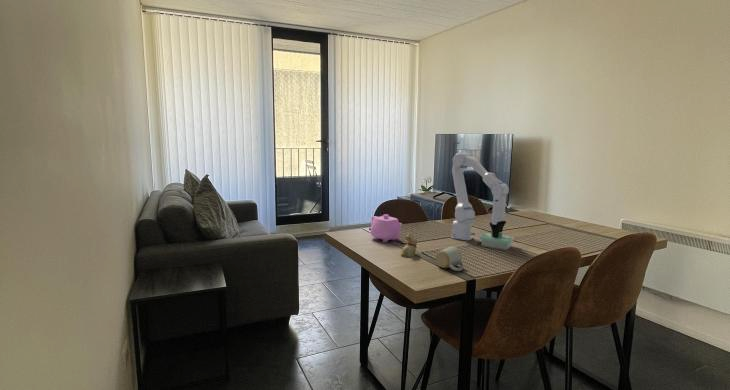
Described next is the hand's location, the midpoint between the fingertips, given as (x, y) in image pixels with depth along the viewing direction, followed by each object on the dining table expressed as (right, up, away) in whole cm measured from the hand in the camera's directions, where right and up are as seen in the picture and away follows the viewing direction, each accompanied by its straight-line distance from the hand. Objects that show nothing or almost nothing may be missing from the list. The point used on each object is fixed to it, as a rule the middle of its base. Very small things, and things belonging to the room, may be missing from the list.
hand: (496, 236), depth 189 cm
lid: (0, -2, 0) cm, 2 cm away
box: (0, -5, +1) cm, 5 cm away
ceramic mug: (-29, -9, -32) cm, 44 cm away
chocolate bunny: (-44, -6, -16) cm, 47 cm away
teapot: (-53, -3, +9) cm, 54 cm away
